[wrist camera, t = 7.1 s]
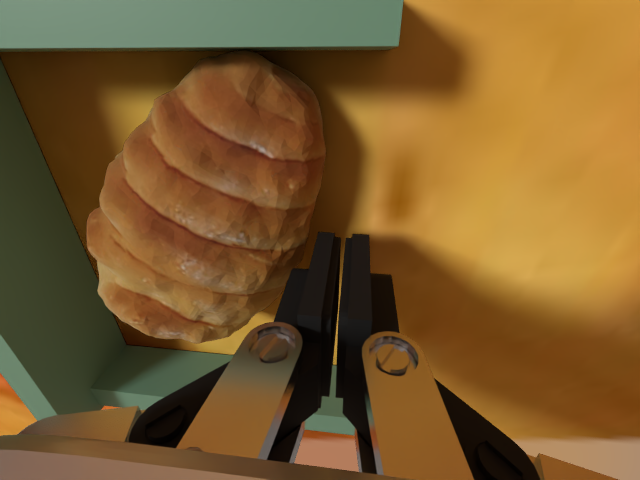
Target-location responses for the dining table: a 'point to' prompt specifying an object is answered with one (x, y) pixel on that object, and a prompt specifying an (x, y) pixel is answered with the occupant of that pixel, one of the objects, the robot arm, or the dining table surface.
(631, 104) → the dining table surface
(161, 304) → the pastry
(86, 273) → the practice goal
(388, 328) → the robot arm
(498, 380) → the dining table surface
